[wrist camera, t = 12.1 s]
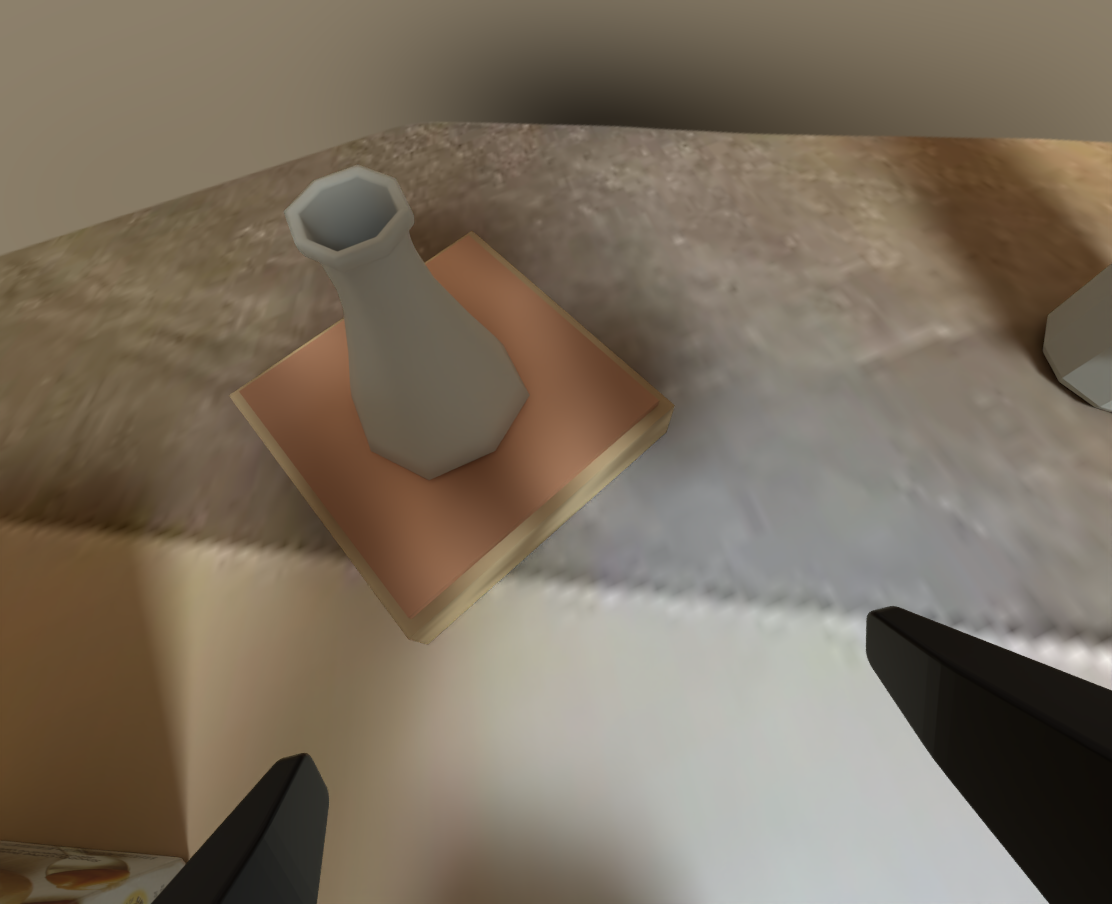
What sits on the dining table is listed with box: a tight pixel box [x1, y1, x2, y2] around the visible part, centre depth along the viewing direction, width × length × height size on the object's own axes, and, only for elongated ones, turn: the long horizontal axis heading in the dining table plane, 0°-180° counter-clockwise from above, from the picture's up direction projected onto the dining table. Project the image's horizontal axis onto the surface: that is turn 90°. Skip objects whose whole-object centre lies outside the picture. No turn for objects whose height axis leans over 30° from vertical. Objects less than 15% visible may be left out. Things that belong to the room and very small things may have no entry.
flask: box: [284, 164, 530, 480], centre depth 18 cm, size 7×7×10 cm
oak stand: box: [229, 231, 675, 644], centre depth 24 cm, size 14×14×3 cm
